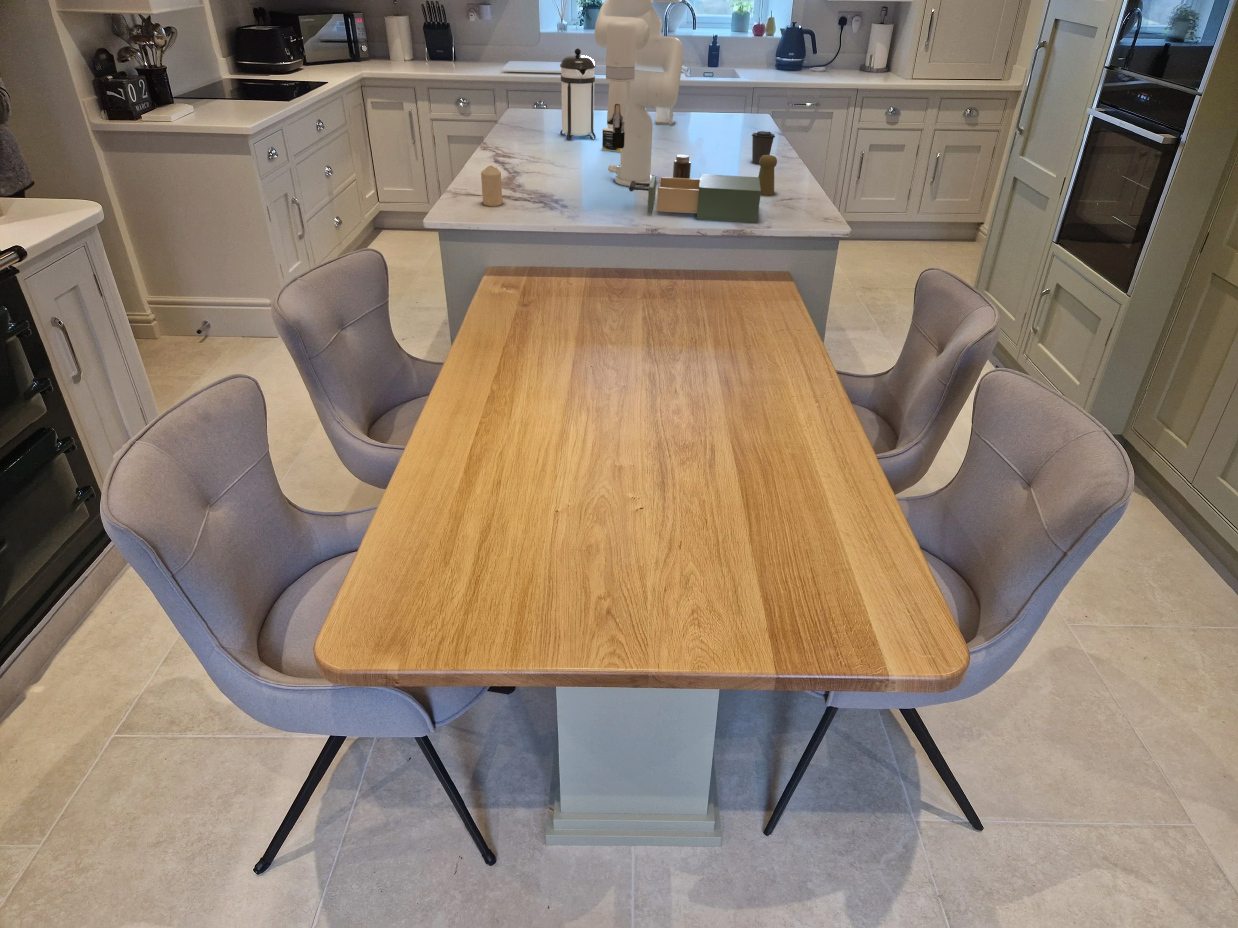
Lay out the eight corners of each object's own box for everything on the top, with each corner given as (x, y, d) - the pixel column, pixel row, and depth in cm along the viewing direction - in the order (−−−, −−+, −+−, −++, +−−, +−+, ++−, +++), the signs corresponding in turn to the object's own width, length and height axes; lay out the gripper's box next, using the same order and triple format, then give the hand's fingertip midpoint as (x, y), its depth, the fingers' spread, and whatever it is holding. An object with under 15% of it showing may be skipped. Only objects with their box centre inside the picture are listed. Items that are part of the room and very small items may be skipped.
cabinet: (696, 219, 223) (699, 187, 218) (697, 204, 235) (700, 174, 230) (757, 223, 221) (760, 191, 217) (755, 208, 234) (759, 177, 229)
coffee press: (606, 136, 309) (608, 48, 292) (582, 143, 297) (583, 52, 281) (569, 130, 316) (569, 44, 300) (545, 136, 305) (543, 48, 288)
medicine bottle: (601, 150, 289) (602, 114, 282) (609, 146, 295) (610, 111, 288) (620, 152, 287) (621, 116, 280) (627, 148, 292) (629, 113, 286)
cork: (773, 196, 244) (778, 158, 238) (753, 195, 245) (758, 157, 239) (774, 191, 249) (779, 154, 243) (754, 189, 250) (759, 152, 244)
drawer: (626, 211, 224) (627, 186, 220) (631, 198, 235) (632, 174, 232) (703, 215, 223) (705, 190, 219) (704, 202, 234) (706, 178, 230)
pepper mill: (671, 200, 238) (673, 157, 231) (672, 195, 242) (674, 153, 235) (688, 201, 238) (691, 158, 231) (688, 196, 242) (691, 154, 235)
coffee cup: (776, 163, 280) (780, 132, 274) (763, 167, 275) (766, 135, 269) (757, 159, 284) (760, 128, 279) (743, 162, 279) (746, 131, 274)
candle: (483, 200, 232) (481, 164, 226) (502, 201, 232) (501, 164, 227) (482, 206, 227) (480, 169, 222) (502, 206, 228) (500, 169, 222)
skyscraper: (652, 123, 331) (655, 47, 315) (654, 120, 338) (658, 45, 322) (672, 125, 330) (677, 48, 314) (674, 121, 337) (679, 46, 321)
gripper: (609, 69, 218) (607, 141, 228) (602, 77, 205) (601, 152, 215) (637, 71, 217) (634, 143, 227) (631, 78, 205) (629, 154, 215)
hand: (618, 147), depth 221 cm, fingers closed
